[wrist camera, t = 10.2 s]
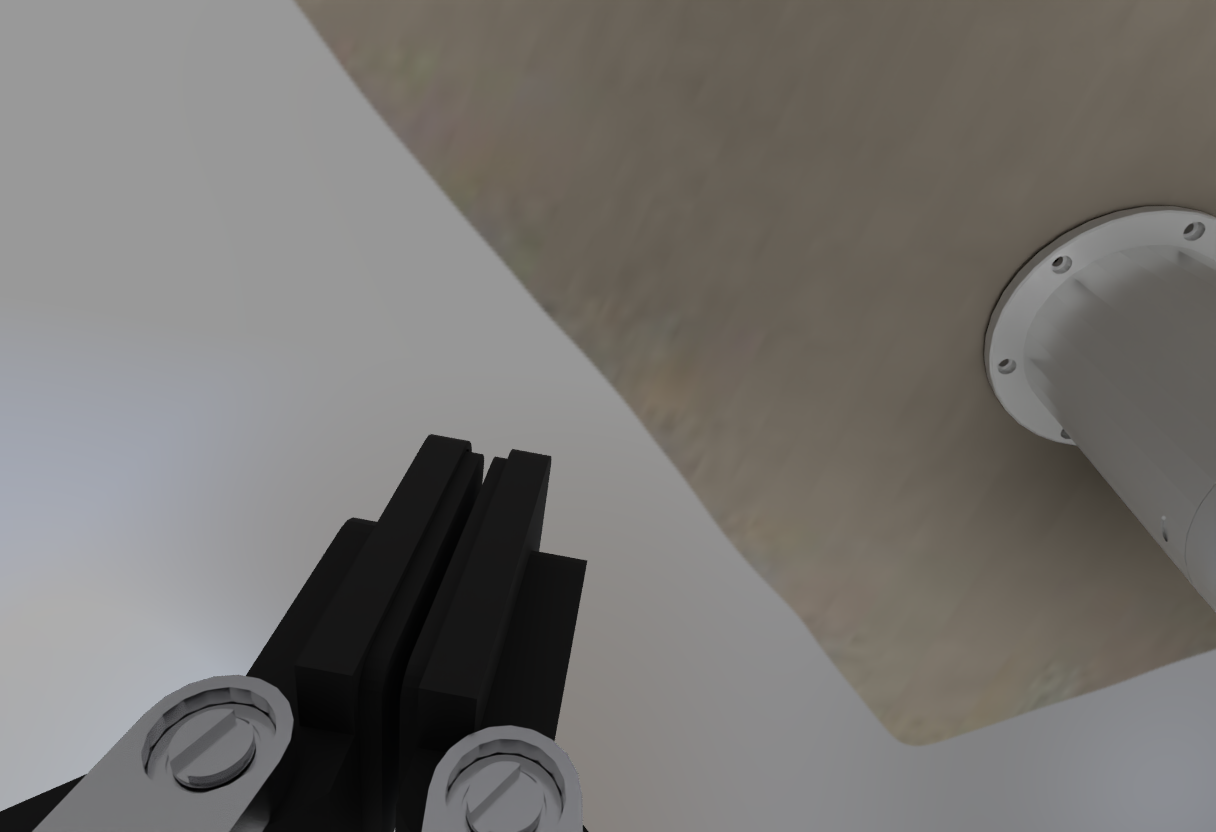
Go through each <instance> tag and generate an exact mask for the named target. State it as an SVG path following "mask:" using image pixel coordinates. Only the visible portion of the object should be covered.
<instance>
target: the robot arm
mask: <svg viewBox="0 0 1216 832" xmlns="http://www.w3.org/2000/svg"><path fill="white" fill-rule="evenodd" d="M1187 226H1188V227H1187ZM1186 227H1187V228H1186ZM1185 228H1186V229H1185ZM1057 258H1059V260H1058V261H1057V262H1055V263H1053V262H1054V261H1055V260H1056V259H1057ZM1003 360H1004V361H1003ZM984 361H985V367H986V373H987V378H988V380H989V382H990V385H991V387H992V389H993V392H994V394H995V396H996V397H997V398H998V400H999V401H1000V403H1001V404H1002V406H1003V407H1004V409H1005V410H1006V411H1007V412H1008V413H1009V414H1010V415H1011V416H1012V417H1013V418H1014V419H1015V420H1016V421H1017V422H1018V423H1019V424H1020V425H1022V426H1023V427H1025V428H1027V429H1028V430H1030V431H1031V432H1033V433H1034V434H1036V435H1039V436H1041V437H1044V438H1046V439H1049V440H1052V441H1054V442H1058V443H1064V444H1069V445H1074V446H1078V447H1079V449H1080V450H1081V451H1082V452H1083V453H1084V455H1085V456H1086V457H1087V458H1088V459H1089V461H1090V462H1091V463H1092V464H1093V466H1094V467H1095V468H1096V469H1097V470H1098V472H1099V473H1100V474H1101V475H1102V476H1103V478H1104V479H1105V480H1106V481H1107V483H1108V484H1109V485H1110V486H1111V487H1112V489H1113V490H1114V491H1115V492H1116V493H1117V495H1118V496H1119V497H1120V498H1121V499H1122V501H1123V502H1124V503H1125V504H1126V506H1127V507H1128V508H1129V509H1130V510H1131V512H1132V513H1133V514H1134V515H1135V516H1136V518H1137V519H1138V520H1139V521H1140V523H1141V524H1142V525H1143V526H1144V527H1145V529H1146V530H1147V531H1148V532H1149V533H1150V535H1151V536H1152V537H1153V538H1154V539H1155V541H1156V542H1157V543H1158V544H1159V546H1160V547H1161V548H1162V549H1163V550H1164V552H1165V553H1166V554H1167V555H1168V556H1169V558H1170V559H1171V560H1172V561H1173V562H1174V564H1175V565H1176V566H1177V567H1178V569H1179V570H1180V571H1181V572H1182V573H1183V575H1184V576H1185V577H1186V578H1187V579H1188V581H1189V582H1190V583H1191V584H1192V586H1193V587H1194V588H1195V589H1196V590H1197V592H1198V593H1199V594H1200V595H1201V596H1202V598H1204V600H1205V601H1206V602H1207V603H1208V604H1209V605H1210V607H1211V608H1212V609H1213V610H1214V611H1215V613H1216V217H1214V216H1212V215H1209V214H1207V213H1204V212H1202V211H1199V210H1193V209H1188V208H1182V207H1176V206H1145V207H1139V208H1134V209H1128V210H1123V211H1117V212H1114V213H1111V214H1108V215H1106V216H1103V217H1100V218H1097V219H1094V220H1091V221H1088V222H1087V223H1085V224H1083V225H1081V226H1079V227H1077V228H1075V229H1073V230H1071V231H1069V232H1067V233H1065V234H1064V235H1062V236H1060V237H1059V238H1058V239H1056V240H1055V241H1054V242H1052V243H1051V244H1049V245H1048V246H1047V247H1045V248H1044V249H1042V250H1041V251H1040V252H1038V253H1037V254H1036V255H1035V256H1034V257H1033V258H1032V259H1031V260H1030V261H1029V262H1028V263H1027V264H1026V265H1025V266H1024V267H1023V268H1022V269H1021V270H1020V271H1019V272H1018V273H1017V275H1016V276H1015V277H1014V279H1013V280H1012V281H1011V283H1010V284H1009V285H1008V287H1007V288H1006V289H1005V291H1004V292H1003V294H1002V296H1001V298H1000V300H999V302H998V304H997V306H996V308H995V310H994V311H993V313H992V316H991V319H990V323H989V326H988V330H987V333H986V337H985V351H984ZM1001 361H1003V362H1001ZM1000 362H1001V363H1000ZM550 467H551V456H547V455H542V454H537V453H530V452H526V451H520V450H515V449H512V450H511V452H510V454H509V457H508V459H505V458H499V457H494V459H493V461H492V463H491V465H490V468H489V470H488V473H487V475H486V478H485V480H484V482H483V484H482V481H483V480H482V479H483V469H484V456H483V454H478V453H473V452H472V447H471V443H470V441H466V440H460V439H455V438H449V437H444V436H438V435H433V434H431V435H429V436H428V437H427V438H426V440H425V441H424V443H423V445H422V447H421V448H420V450H419V452H418V453H417V456H416V457H415V459H414V460H413V462H412V464H411V466H410V467H409V469H408V471H407V472H406V474H405V476H404V477H403V479H402V481H401V483H400V484H399V486H398V488H397V489H396V491H395V493H394V495H393V496H392V498H391V500H390V501H389V503H388V505H387V507H386V508H385V510H384V512H383V513H382V515H381V517H380V519H379V520H378V522H375V521H369V520H364V519H358V518H351V519H349V520H347V521H346V522H345V524H344V525H343V526H342V527H341V529H340V531H339V532H338V533H337V535H336V537H335V538H334V540H333V541H332V543H331V544H330V546H329V547H328V549H327V551H326V552H325V554H324V555H323V557H322V559H321V560H320V561H319V563H318V564H317V566H316V568H315V569H314V571H313V572H312V574H311V575H310V577H309V579H308V580H307V582H306V583H305V585H304V586H303V588H302V590H301V591H300V593H299V594H298V596H297V597H296V599H295V600H294V602H293V603H292V605H291V606H290V608H289V610H288V611H287V613H286V614H285V616H284V617H283V619H282V620H281V622H280V624H279V625H278V627H277V628H276V630H275V631H274V633H273V634H272V636H271V637H270V639H269V641H268V642H267V644H266V645H265V647H264V648H263V650H262V651H261V653H260V655H259V656H258V658H257V659H256V661H255V662H254V664H253V666H252V667H251V668H250V670H249V672H248V673H247V675H246V676H241V675H230V676H217V677H211V678H208V679H204V680H201V681H198V682H194V683H191V684H188V685H186V686H184V687H182V688H181V689H179V690H177V691H175V692H173V693H171V694H169V695H167V696H166V697H164V698H163V699H162V700H161V701H160V702H158V703H157V704H156V705H155V706H153V707H152V708H151V709H150V710H149V711H147V712H146V713H145V714H144V715H143V716H142V717H141V718H140V719H139V720H138V721H137V722H136V723H135V725H133V726H132V728H131V729H130V730H129V731H128V732H127V733H126V734H125V735H124V736H123V737H122V738H121V739H120V740H119V741H118V742H117V743H116V744H115V745H114V746H113V748H112V749H111V750H110V751H109V752H108V753H107V754H106V755H105V756H104V757H103V758H102V759H101V760H100V761H99V762H98V763H97V764H96V765H95V766H94V767H93V768H92V769H91V770H90V772H89V773H88V774H86V775H83V776H81V777H79V778H76V779H74V780H72V781H70V782H67V783H65V784H63V785H61V786H58V787H56V788H53V789H51V790H49V791H47V792H44V793H42V794H40V795H37V796H35V797H33V798H30V799H28V800H26V801H24V802H21V803H19V804H17V805H14V806H12V807H10V808H7V809H5V810H3V811H1V812H0V832H394V829H395V832H588V831H587V829H586V828H585V827H584V825H583V822H582V821H583V818H582V817H583V816H582V792H581V787H580V782H579V776H578V773H577V771H576V769H575V767H574V765H573V763H572V762H571V760H570V758H569V756H568V755H567V753H566V752H564V751H563V750H562V749H561V748H560V747H559V746H558V745H557V744H556V743H555V742H554V740H555V735H556V730H557V724H558V718H559V713H560V707H561V702H562V697H563V691H564V686H565V680H566V675H567V669H568V664H569V658H570V653H571V647H572V641H573V636H574V631H575V625H576V620H577V614H578V608H579V603H580V598H581V593H582V587H583V582H584V575H585V571H586V565H587V561H586V560H580V559H575V558H570V557H565V556H559V555H554V554H548V553H543V552H539V548H540V540H541V533H542V525H543V519H544V511H545V503H546V496H547V490H548V482H549V475H550Z"/></svg>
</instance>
